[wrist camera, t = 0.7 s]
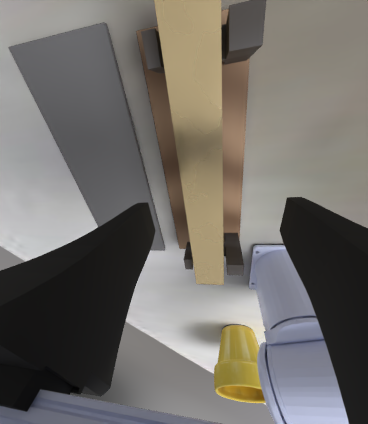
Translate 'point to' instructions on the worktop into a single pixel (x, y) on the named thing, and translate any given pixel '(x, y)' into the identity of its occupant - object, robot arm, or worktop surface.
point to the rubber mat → (89, 118)
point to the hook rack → (231, 120)
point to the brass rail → (197, 122)
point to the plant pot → (238, 365)
